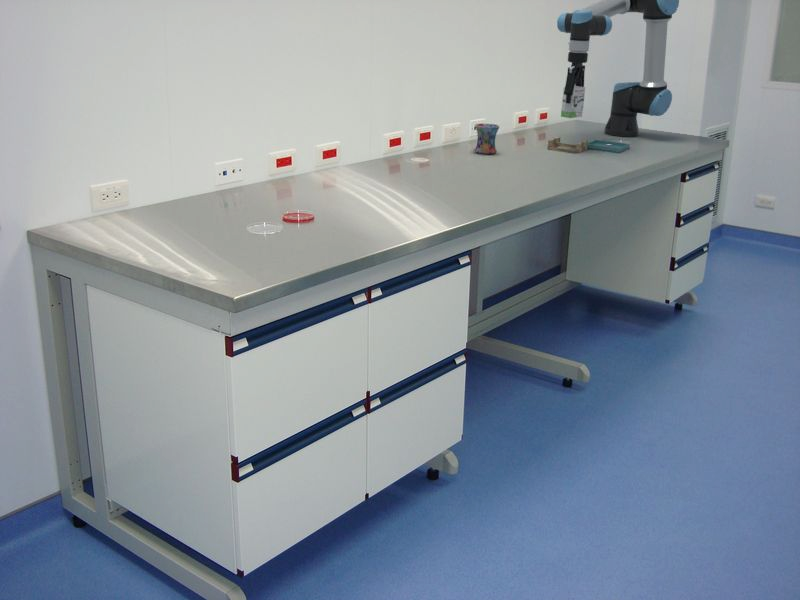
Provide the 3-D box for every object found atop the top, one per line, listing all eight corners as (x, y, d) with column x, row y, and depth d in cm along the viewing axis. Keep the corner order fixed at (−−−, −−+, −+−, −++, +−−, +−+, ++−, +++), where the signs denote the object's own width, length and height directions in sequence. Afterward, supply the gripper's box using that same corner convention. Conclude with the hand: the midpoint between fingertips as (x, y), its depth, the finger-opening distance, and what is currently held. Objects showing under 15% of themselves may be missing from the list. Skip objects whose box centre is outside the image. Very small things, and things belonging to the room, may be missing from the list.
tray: (594, 143, 357) (594, 139, 356) (629, 148, 350) (629, 144, 349) (583, 148, 346) (584, 143, 345) (619, 153, 339) (620, 148, 338)
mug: (490, 156, 320) (492, 128, 317) (468, 152, 325) (470, 125, 321) (504, 152, 330) (507, 124, 326) (484, 148, 335) (486, 121, 331)
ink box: (570, 118, 333) (573, 88, 329) (560, 116, 336) (563, 86, 332) (582, 116, 339) (585, 86, 334) (572, 115, 342) (575, 85, 338)
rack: (557, 145, 350) (558, 136, 349) (587, 149, 344) (588, 140, 343) (547, 149, 340) (547, 140, 338) (577, 153, 334) (578, 144, 333)
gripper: (578, 49, 339) (572, 106, 347) (559, 52, 321) (553, 112, 329) (596, 50, 336) (590, 108, 344) (578, 54, 318) (571, 114, 326)
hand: (572, 110), depth 337 cm, fingers closed on ink box, 9 cm apart
